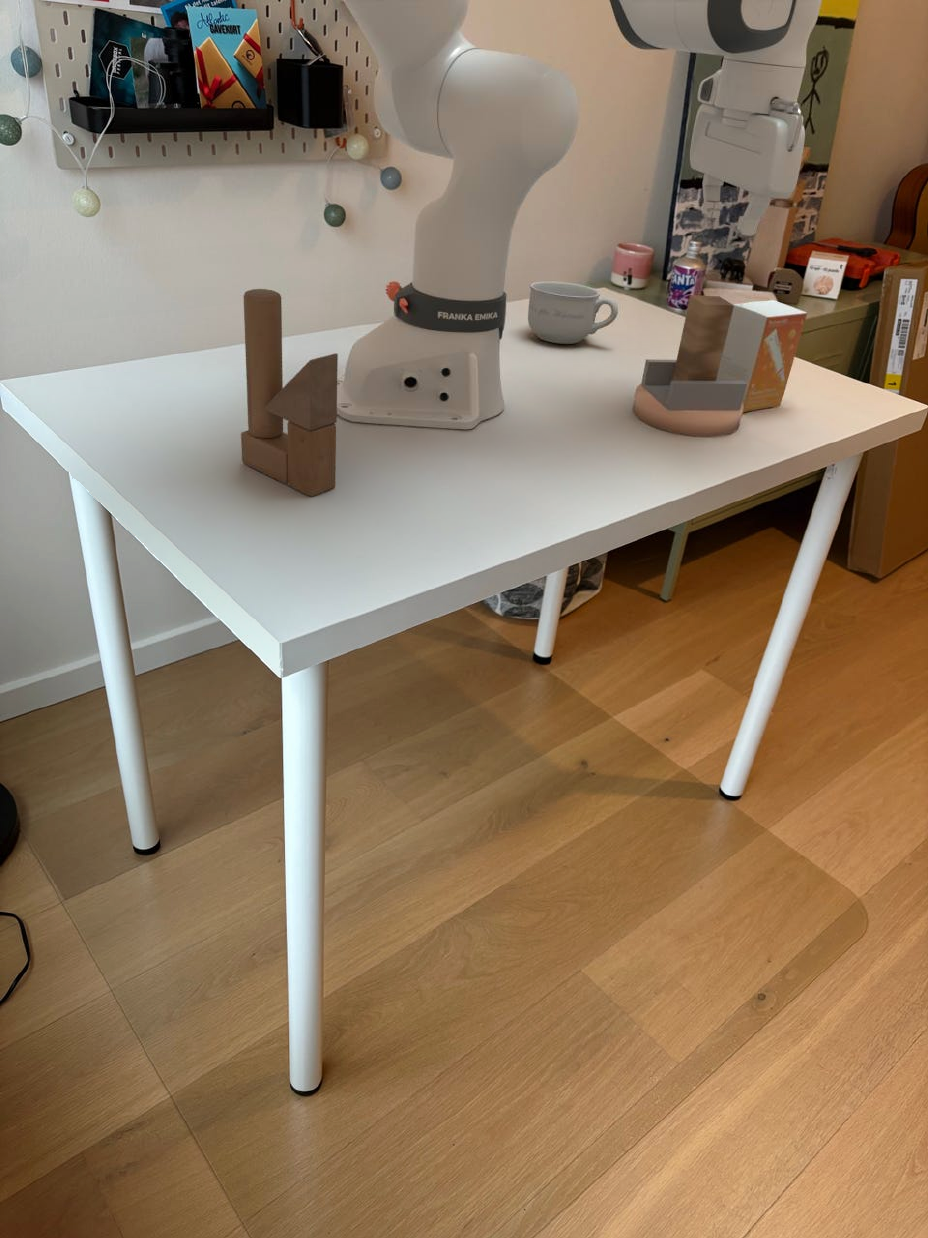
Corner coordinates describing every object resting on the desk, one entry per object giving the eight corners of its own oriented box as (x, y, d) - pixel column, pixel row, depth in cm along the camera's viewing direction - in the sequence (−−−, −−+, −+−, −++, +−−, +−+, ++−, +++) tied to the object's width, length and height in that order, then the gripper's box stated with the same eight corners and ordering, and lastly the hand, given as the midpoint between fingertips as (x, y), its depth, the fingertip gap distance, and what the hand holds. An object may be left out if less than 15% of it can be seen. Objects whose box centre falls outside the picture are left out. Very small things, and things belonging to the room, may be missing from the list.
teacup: (511, 337, 148) (517, 284, 144) (546, 324, 156) (553, 273, 151) (589, 360, 142) (598, 305, 138) (622, 345, 150) (631, 293, 145)
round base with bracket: (657, 437, 118) (667, 390, 115) (616, 396, 129) (624, 352, 126) (758, 436, 121) (770, 390, 118) (710, 396, 133) (720, 354, 129)
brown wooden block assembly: (310, 498, 96) (310, 318, 86) (240, 464, 101) (233, 290, 91) (337, 488, 98) (340, 312, 88) (267, 454, 104) (263, 285, 94)
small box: (742, 414, 128) (767, 316, 121) (708, 397, 132) (730, 302, 125) (782, 406, 132) (809, 311, 125) (747, 391, 136) (772, 298, 129)
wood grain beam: (683, 399, 122) (704, 304, 115) (670, 388, 125) (690, 295, 118) (711, 399, 123) (734, 305, 116) (698, 388, 126) (719, 296, 119)
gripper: (832, 106, 98) (794, 246, 106) (741, 86, 115) (714, 209, 122) (777, 101, 97) (743, 244, 104) (693, 82, 113) (669, 206, 121)
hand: (727, 225), depth 113 cm, fingers open, 8 cm apart
